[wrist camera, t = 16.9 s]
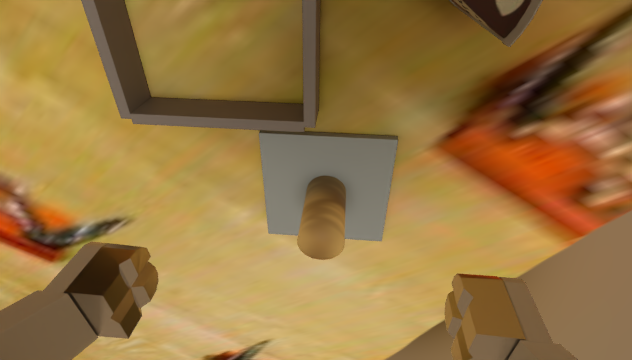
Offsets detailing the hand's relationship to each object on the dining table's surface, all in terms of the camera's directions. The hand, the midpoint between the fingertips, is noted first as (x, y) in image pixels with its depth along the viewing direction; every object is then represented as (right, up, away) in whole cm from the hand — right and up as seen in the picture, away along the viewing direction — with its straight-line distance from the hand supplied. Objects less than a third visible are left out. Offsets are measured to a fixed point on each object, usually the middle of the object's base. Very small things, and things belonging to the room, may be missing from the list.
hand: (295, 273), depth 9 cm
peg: (+2, +1, +30) cm, 30 cm away
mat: (+2, +2, +30) cm, 30 cm away
